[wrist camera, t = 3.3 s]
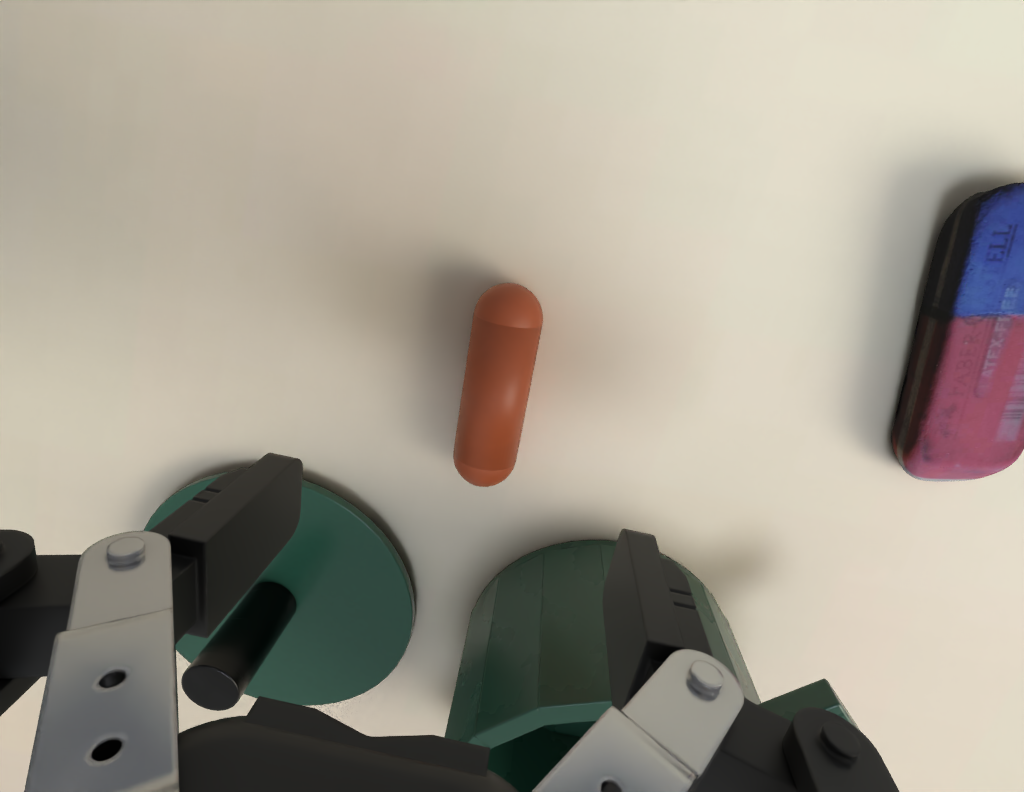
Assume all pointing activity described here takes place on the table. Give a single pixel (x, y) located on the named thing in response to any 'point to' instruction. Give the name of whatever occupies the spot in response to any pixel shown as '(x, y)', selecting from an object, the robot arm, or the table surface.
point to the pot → (565, 661)
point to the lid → (306, 613)
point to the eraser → (968, 347)
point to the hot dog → (497, 383)
